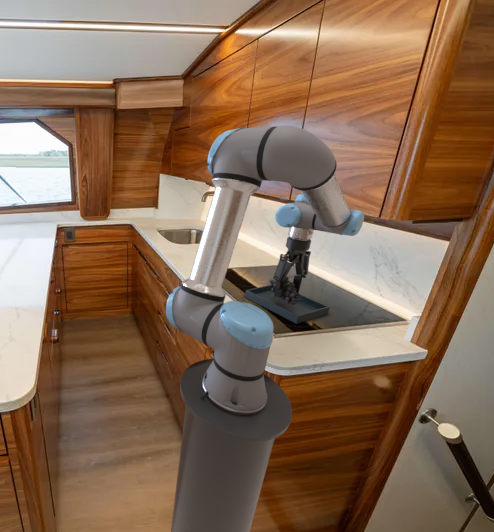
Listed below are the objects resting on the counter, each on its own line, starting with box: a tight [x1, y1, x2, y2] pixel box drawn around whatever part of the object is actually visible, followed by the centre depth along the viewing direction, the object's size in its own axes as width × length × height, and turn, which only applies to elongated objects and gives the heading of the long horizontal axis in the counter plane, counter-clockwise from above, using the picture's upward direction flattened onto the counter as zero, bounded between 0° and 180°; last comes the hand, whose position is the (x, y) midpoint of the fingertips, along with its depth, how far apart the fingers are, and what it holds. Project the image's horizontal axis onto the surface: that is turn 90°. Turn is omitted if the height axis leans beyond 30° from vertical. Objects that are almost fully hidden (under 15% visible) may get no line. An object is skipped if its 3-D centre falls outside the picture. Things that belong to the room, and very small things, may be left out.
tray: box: [244, 284, 331, 325], centre depth 117 cm, size 17×23×3 cm
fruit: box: [268, 275, 301, 305], centre depth 115 cm, size 9×8×15 cm
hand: (286, 294), depth 116 cm, fingers closed on fruit, 9 cm apart
